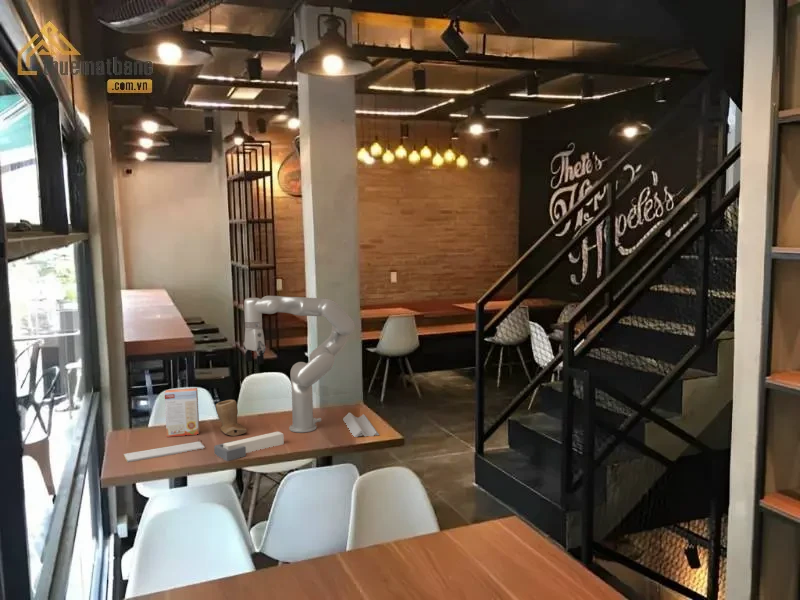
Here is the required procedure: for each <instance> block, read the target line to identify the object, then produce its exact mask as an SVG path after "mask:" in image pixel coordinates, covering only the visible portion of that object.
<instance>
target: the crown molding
mask: <svg viewBox="0 0 800 600" xmlns="http://www.w3.org/2000/svg"><path fill="white" fill-rule="evenodd" d="M342 420H343V422H344V424H345V423H346V424H345V425H347V426H346V427H347V429H348V428H349V429H348V431H349V430H350V431H349V433H350V434H351V433H352V434H351V436H352V435H353V436H354V437H357V438H358V437H362V436H364V437H365V438H367V437H366V436H370V437H375V436H380V433H379V432H378V431H377V429H376V428H375V427H374V425H373V424H372V423H371V421H370V420H369V418H368V417H367V416H366V415H365V414H364V413H363V414H362V415H360V416H359V417H357V416H355V415H354V414H353V413H352V412H348V413H347V414H346V415H345V416H344V417H343V418H342ZM374 435H375V436H374ZM353 436H352V437H353Z"/></svg>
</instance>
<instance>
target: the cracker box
mask: <svg viewBox="0 0 800 600" xmlns="http://www.w3.org/2000/svg"><path fill="white" fill-rule="evenodd" d="M198 393H199V392H198V388H197V387H193V388H192V387H191V388H177V389H176V388H175V389H166V390H165V392H164V408H165V410H164V411H165V413H164V414H165V428H166V429H165V430H166V431H165V432H166V437H167V438H172V437H184V436H185V435H187V436H196V435H197V434H198V435H199V433H200V416H199V414H200V413H199V396H198V395H199V394H198ZM198 435H197V436H198Z"/></svg>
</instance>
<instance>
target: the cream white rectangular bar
mask: <svg viewBox="0 0 800 600" xmlns="http://www.w3.org/2000/svg"><path fill="white" fill-rule="evenodd" d="M284 440H285V439H284V433H282V432H281V431H273V432H269V433H265V434H260V435H256V436H255V435H254V436H252V437H251V436H250V437H247V438H243V439H237V440H232V441H233V442H231V441H228V442H229V443H227V442H223V443H224V444H223V443H222V444H223V448H225V449H228V450H230V449H234V448H238V447H242V446H245V447H246V454H250V453H252V451H253V452H257V451H261V450H265V448H266V449H270V448H273V446H274V447H277V446H282V445H284V444H285V443H284ZM269 447H270V448H269ZM260 449H261V450H260ZM256 450H257V451H256Z"/></svg>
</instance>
